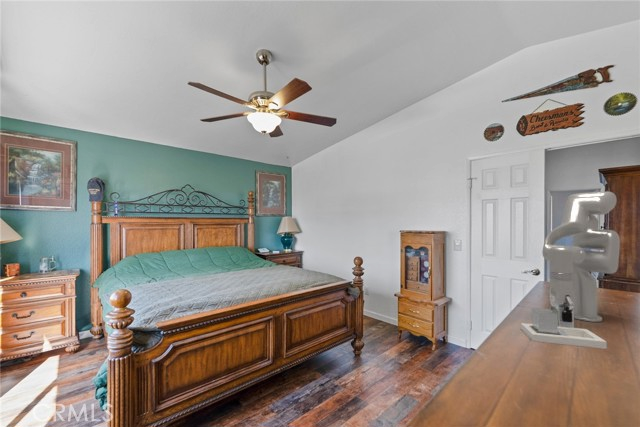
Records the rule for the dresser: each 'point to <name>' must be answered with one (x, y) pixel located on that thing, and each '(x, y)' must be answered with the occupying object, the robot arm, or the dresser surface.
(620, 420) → the dresser surface
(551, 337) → the pallet
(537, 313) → the metal block
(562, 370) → the dresser surface
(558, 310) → the syrup box
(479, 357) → the dresser surface
